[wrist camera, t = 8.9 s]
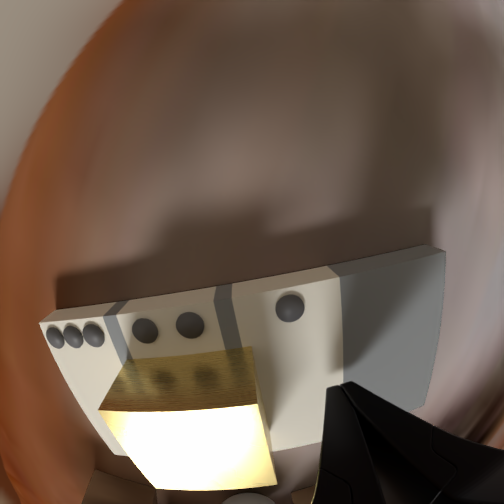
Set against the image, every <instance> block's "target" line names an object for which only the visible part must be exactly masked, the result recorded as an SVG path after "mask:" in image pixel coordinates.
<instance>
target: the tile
mask: <svg viewBox="0 0 504 504" xmlns="http://www.w3.org/2000/svg"><path fill="white" fill-rule="evenodd" d="M98 411H99V413H100V415H101V416H102V418H103V419H104V421H105V422H106V424H107V426H108V427H109V429H110V430H111V432H112V433H113V435H114V436H115V437H116V439H117V440H118V442H119V443H120V445H121V446H122V447H123V449H124V450H125V451H126V453H127V454H128V455H129V457H130V458H131V459H132V461H133V462H134V463H135V464H136V466H137V467H138V468H139V469H140V471H141V472H142V473H143V474H144V475H145V477H146V478H147V479H148V480H149V481H150V482H151V484H152V485H153V486H154V487H155V488H158V489H172V490H228V489H243V488H253V487H262V486H270V485H277V478H276V471H275V465H274V458H273V451H272V444H271V437H270V431H269V426H268V421H267V417H266V412H265V408H264V403H263V398H262V394H261V389H260V384H259V379H258V375H257V370H256V365H255V360H254V355H253V350H252V346H248V347H242V348H235V349H228V350H221V351H214V352H206V353H198V354H189V355H179V356H168V357H156V358H142V359H127V360H126V361H125V363H124V365H123V366H122V368H121V370H120V372H119V373H118V375H117V377H116V378H115V380H114V382H113V384H112V385H111V387H110V389H109V391H108V392H107V394H106V396H105V398H104V400H103V401H102V403H101V405H100V407H99V409H98Z"/></svg>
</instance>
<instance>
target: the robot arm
mask: <svg viewBox="0 0 504 504" xmlns="http://www.w3.org/2000/svg"><path fill="white" fill-rule="evenodd" d="M311 504H504V450H501V449H497V448H494V447H490V446H486V445H483V444H479V443H476V442H473V441H470V440H467V439H464V438H461V437H458V436H456V435H453V434H451V433H449V432H447V431H444V430H442V429H440V428H438V427H436V426H433V425H432V424H430V423H428V422H426V421H424V420H422V419H420V418H418V417H416V416H414V415H413V414H411V413H409V412H407V411H405V410H403V409H401V408H399V407H398V406H396V405H394V404H392V403H390V402H388V401H387V400H385V399H383V398H381V397H379V396H378V395H376V394H374V393H372V392H371V391H369V390H367V389H365V388H364V387H362V386H360V385H358V384H357V383H355V382H353V381H349V382H345V383H342V384H340V385H335V386H331V387H327V388H326V398H325V412H324V424H323V434H322V444H321V453H320V461H319V470H318V475H317V482H316V487H315V492H314V496H313V499H312V502H311Z"/></svg>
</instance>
